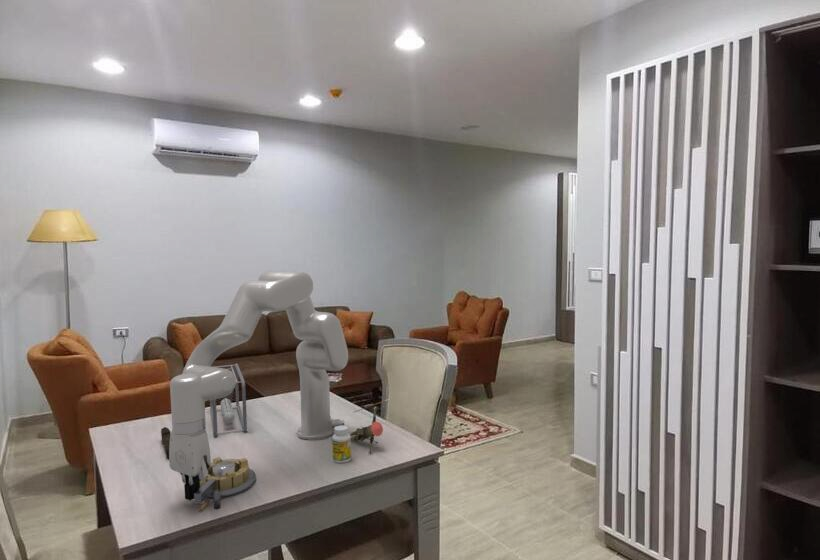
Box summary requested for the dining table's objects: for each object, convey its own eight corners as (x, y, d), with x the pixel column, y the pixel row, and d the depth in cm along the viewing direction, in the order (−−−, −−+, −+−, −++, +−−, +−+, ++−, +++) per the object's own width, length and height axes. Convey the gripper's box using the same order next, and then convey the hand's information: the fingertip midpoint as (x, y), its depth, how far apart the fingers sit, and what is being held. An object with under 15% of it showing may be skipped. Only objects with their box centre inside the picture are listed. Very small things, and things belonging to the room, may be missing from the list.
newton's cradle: (247, 433, 173) (245, 381, 172) (214, 438, 169) (211, 385, 168) (239, 406, 201) (237, 362, 199) (210, 410, 197) (208, 364, 195)
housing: (257, 467, 147) (256, 450, 147) (253, 505, 127) (252, 485, 126) (197, 474, 143) (196, 456, 143) (183, 514, 123) (182, 493, 122)
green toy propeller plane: (362, 465, 166) (401, 456, 153) (336, 458, 161) (374, 448, 148) (368, 416, 175) (406, 403, 161) (344, 408, 170) (380, 394, 157)
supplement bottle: (354, 456, 154) (353, 425, 153) (346, 464, 149) (345, 432, 148) (337, 454, 155) (336, 423, 155) (329, 462, 150) (328, 430, 150)
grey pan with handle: (213, 467, 144) (213, 454, 144) (256, 469, 143) (255, 456, 143) (173, 504, 125) (172, 488, 125) (222, 506, 123) (221, 491, 123)
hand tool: (181, 458, 155) (180, 443, 154) (166, 461, 153) (165, 446, 152) (173, 437, 171) (172, 424, 171) (160, 440, 169) (159, 426, 168)
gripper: (155, 425, 126) (159, 497, 128) (196, 436, 119) (200, 512, 121) (182, 415, 133) (186, 484, 135) (222, 425, 126) (226, 498, 127)
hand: (192, 497), depth 128 cm, fingers closed
